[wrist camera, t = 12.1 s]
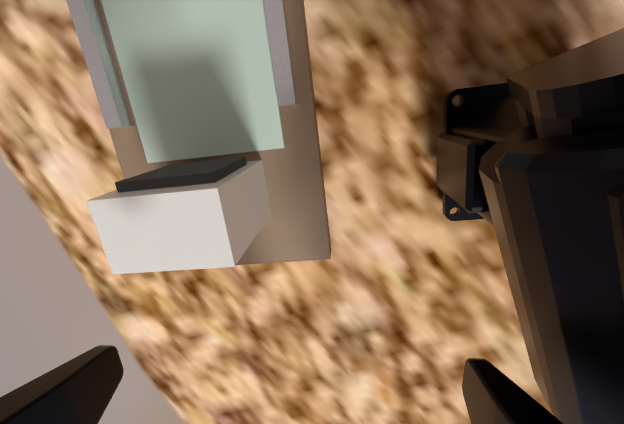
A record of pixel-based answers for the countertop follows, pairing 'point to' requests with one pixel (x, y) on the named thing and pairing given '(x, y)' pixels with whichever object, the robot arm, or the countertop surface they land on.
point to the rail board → (223, 107)
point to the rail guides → (108, 76)
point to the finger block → (182, 216)
